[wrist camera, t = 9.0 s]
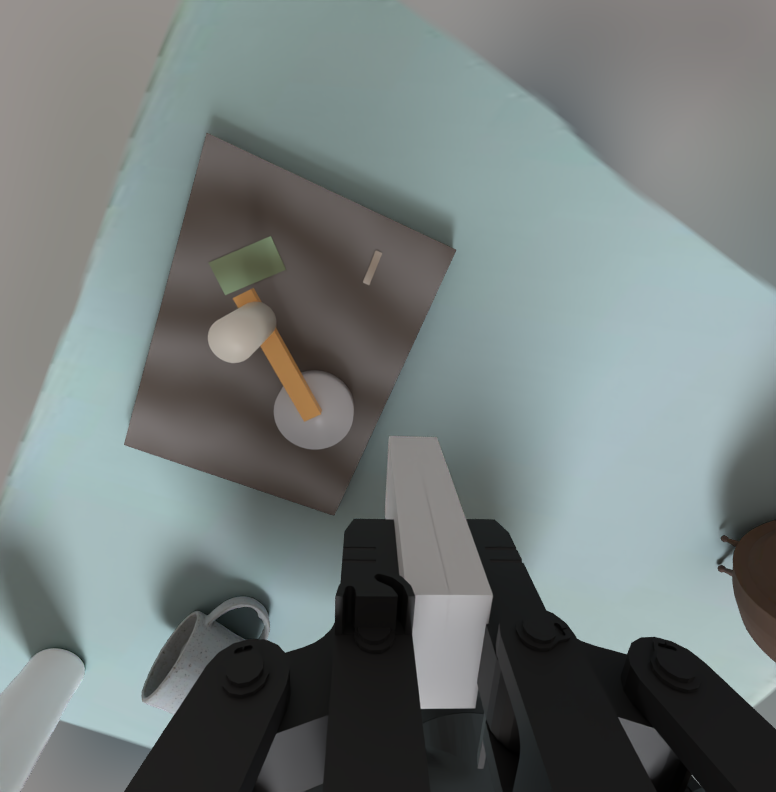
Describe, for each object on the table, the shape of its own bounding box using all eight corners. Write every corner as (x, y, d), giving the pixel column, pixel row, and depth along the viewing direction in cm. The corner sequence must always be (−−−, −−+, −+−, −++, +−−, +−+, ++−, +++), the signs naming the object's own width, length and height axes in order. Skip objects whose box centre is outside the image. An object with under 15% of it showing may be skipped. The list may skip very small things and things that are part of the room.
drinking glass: (21, 679, 46) (-133, 877, 32) (29, 632, 44) (-132, 821, 30) (89, 694, 47) (-30, 891, 33) (100, 648, 45) (-22, 838, 31)
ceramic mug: (230, 677, 47) (207, 757, 40) (162, 640, 45) (124, 717, 38) (293, 615, 45) (279, 688, 38) (224, 574, 43) (196, 642, 35)
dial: (366, 423, 36) (366, 475, 28) (300, 452, 37) (282, 511, 29) (287, 271, 32) (260, 283, 24) (214, 307, 32) (164, 331, 25)
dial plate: (335, 505, 40) (334, 516, 39) (133, 436, 37) (123, 445, 36) (452, 249, 33) (456, 249, 32) (214, 137, 30) (206, 132, 29)
